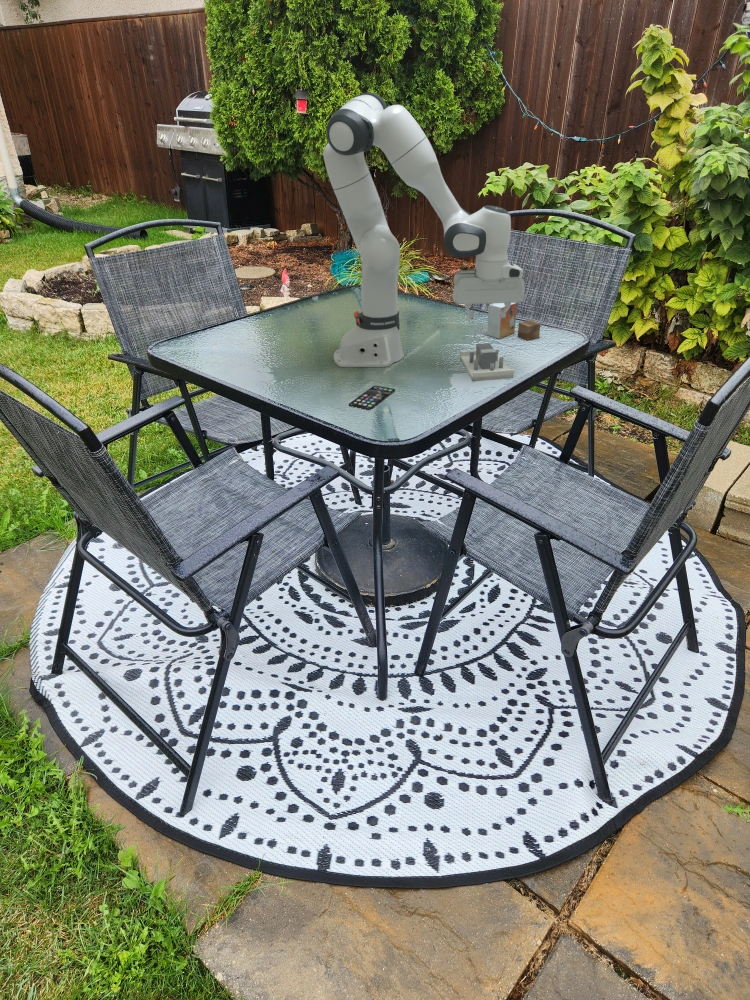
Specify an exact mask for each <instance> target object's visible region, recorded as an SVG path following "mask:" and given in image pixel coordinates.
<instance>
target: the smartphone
mask: <svg viewBox="0 0 750 1000" xmlns="http://www.w3.org/2000/svg"><path fill="white" fill-rule="evenodd" d="M395 392H396V389H395V388H390V387H386V386H379V385H372V386H371V387H370V388H369V389H366V391H365V392H363V393H362V394H360V395H359V396H358V397H357V396H356V398H355V399H354V400H352V401H351V402H349V403H348V406H349V407H350V406H353V407H352V408H355V407H357V408H356V409H360V408H361V410H365V409H366V410H365V411H372V410H373V409H375V408H376V407H377V406H378V405H379V403H380V404H381V403H382V402H384V401H385V400H386V399H388V397H390V396H391V395H392V394H394V393H395ZM375 406H376V407H375ZM371 409H372V410H371Z"/></svg>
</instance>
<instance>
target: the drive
mask: <svg viewBox="0 0 750 1000" xmlns="http://www.w3.org/2000/svg"><path fill="white" fill-rule="evenodd" d="M475 348H476V349H475V350H476V359H478V364H479V366H480V367H481V369H490V363H494V368H495V363H496V351H495V349H496V348H494V347H493V346H492V344H491V343H490V342H486V343H476V347H475Z"/></svg>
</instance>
